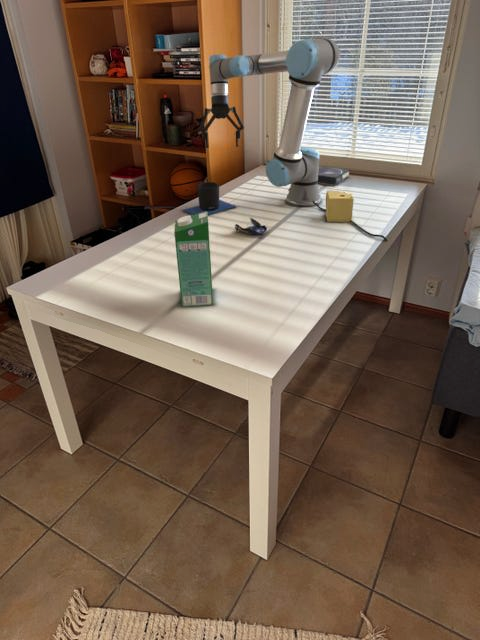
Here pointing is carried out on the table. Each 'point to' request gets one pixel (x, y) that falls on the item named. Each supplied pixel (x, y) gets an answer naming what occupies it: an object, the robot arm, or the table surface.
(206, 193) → the pen holder
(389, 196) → the table surface
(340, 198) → the cheese
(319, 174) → the portable cd player
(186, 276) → the milk carton
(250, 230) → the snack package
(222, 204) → the blue cloth
